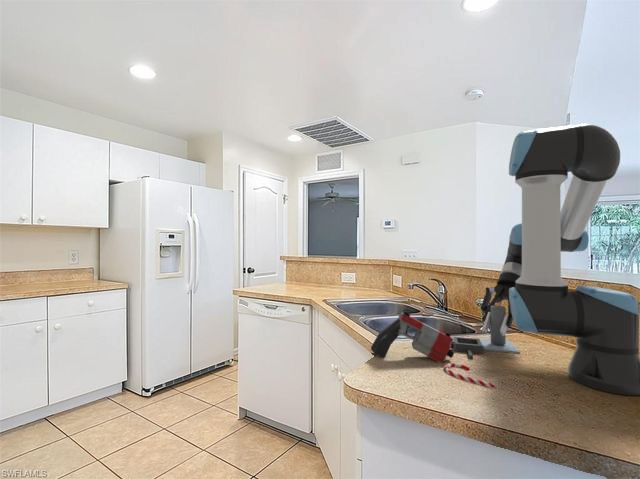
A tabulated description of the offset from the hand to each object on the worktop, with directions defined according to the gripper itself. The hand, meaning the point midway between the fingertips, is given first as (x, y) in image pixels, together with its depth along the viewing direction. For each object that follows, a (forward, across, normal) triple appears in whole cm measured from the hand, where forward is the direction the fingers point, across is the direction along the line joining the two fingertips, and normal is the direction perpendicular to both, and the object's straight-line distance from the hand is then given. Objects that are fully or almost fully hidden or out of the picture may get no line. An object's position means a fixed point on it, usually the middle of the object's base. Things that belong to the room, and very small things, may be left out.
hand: (493, 331), depth 107 cm
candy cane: (+24, -5, +16) cm, 29 cm away
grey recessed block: (+10, +4, +3) cm, 11 cm away
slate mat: (+1, 0, -6) cm, 7 cm away
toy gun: (+23, +13, +15) cm, 31 cm away
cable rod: (0, 0, -6) cm, 6 cm away
